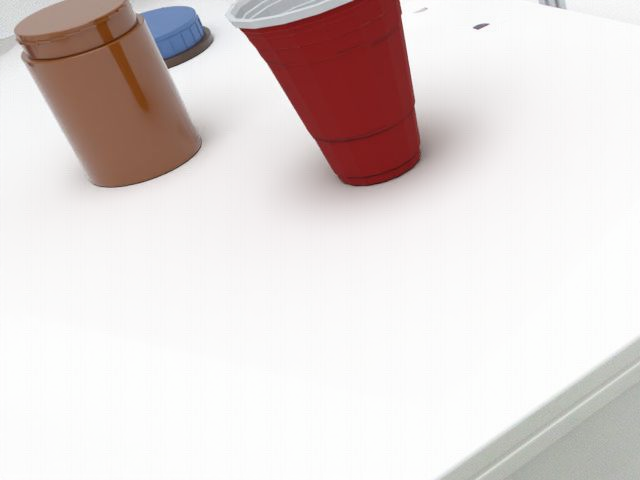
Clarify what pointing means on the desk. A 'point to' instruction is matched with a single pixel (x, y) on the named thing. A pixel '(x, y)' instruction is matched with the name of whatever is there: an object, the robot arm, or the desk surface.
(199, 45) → the coaster
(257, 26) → the plastic cup
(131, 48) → the jar
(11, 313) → the desk surface
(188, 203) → the desk surface
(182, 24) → the lid
